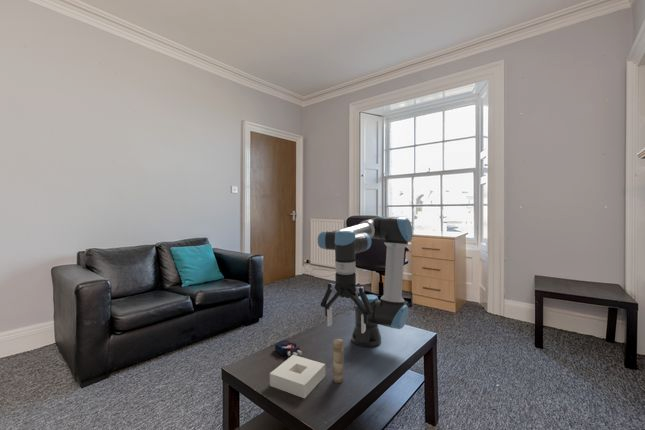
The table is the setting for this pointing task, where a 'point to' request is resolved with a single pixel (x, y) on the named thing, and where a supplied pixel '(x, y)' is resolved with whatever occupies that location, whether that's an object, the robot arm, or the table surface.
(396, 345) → the table surface
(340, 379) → the dowel
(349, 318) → the table surface
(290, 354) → the figurine
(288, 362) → the socket block
